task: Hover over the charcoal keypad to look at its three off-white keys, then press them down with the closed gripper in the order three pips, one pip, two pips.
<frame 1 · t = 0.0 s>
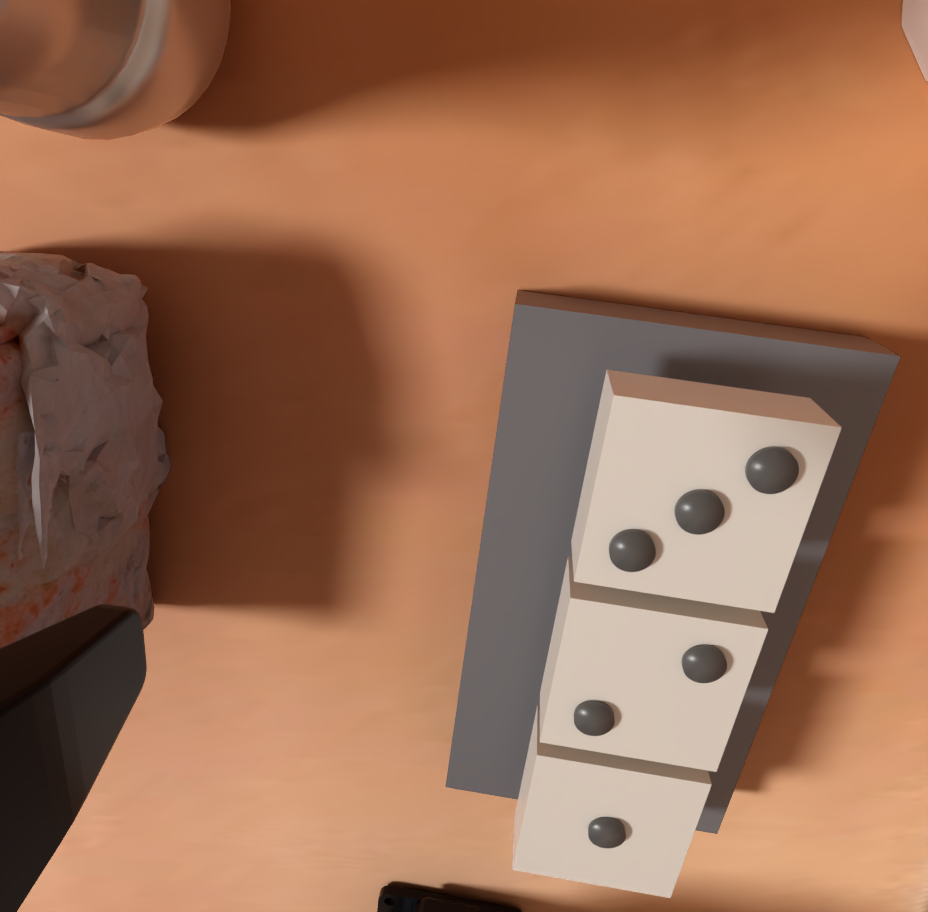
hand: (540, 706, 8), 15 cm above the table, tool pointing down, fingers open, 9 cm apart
key one: (604, 804, 22), point 5 cm above the table, slide at 0.0 cm
keypad board: (625, 575, 24), on the table
key three: (691, 492, 17), point 5 cm above the table, slide at 0.0 cm
key two: (642, 666, 19), point 5 cm above the table, slide at 0.0 cm
plastic bottle: (140, 6, 19), on the table
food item: (87, 436, 24), on the table
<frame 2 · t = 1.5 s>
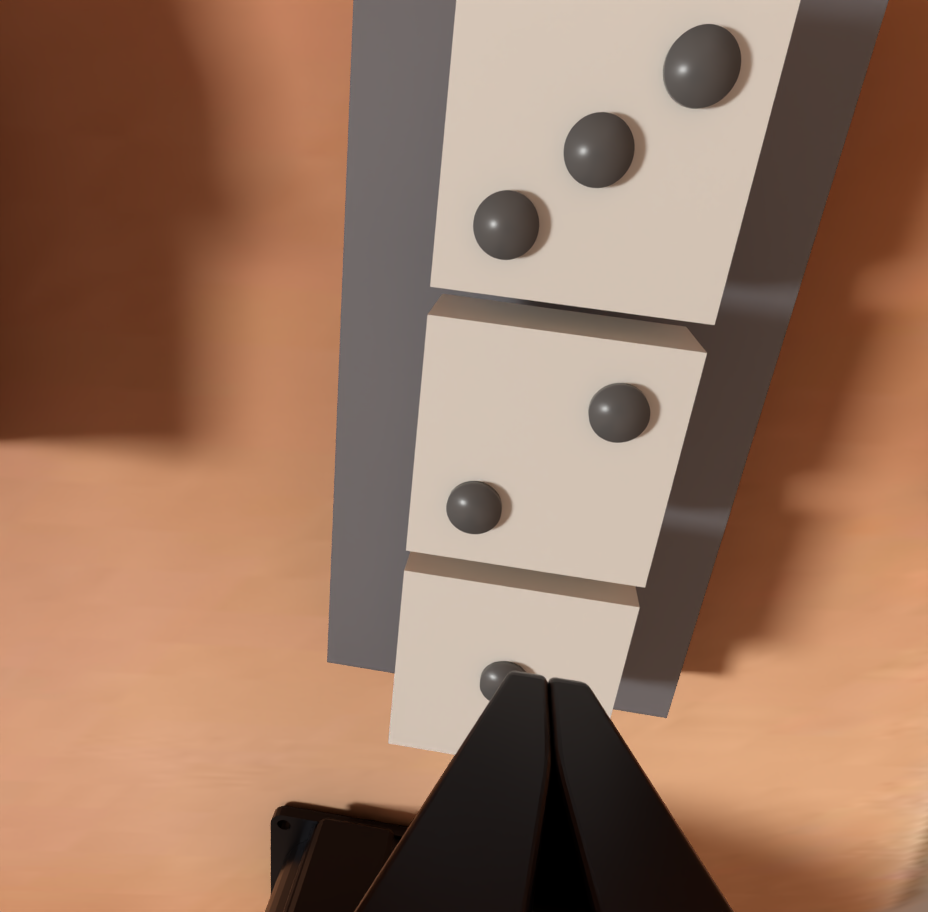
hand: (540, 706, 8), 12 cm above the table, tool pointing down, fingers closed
key one: (506, 654, 16), point 5 cm above the table, slide at 0.0 cm
keypad board: (544, 375, 18), on the table
key three: (594, 150, 12), point 5 cm above the table, slide at 0.0 cm
key two: (543, 442, 14), point 5 cm above the table, slide at 0.0 cm
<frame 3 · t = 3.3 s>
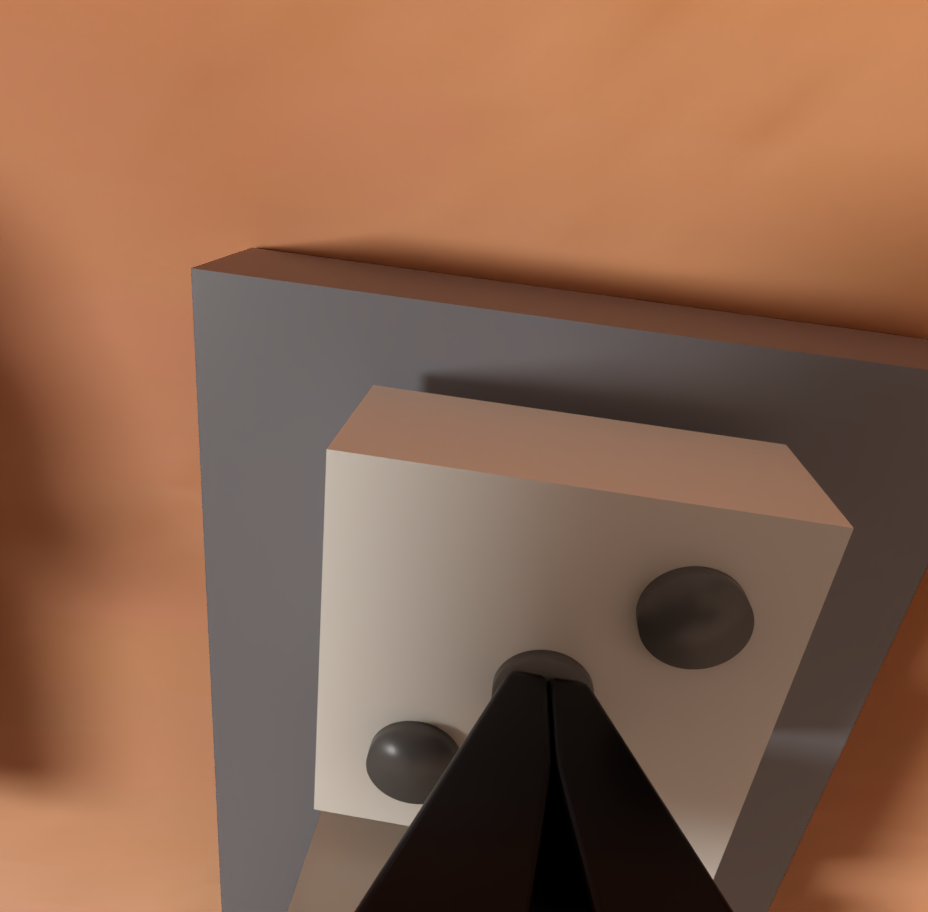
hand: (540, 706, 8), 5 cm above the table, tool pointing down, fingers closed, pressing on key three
keypad board: (499, 740, 14), on the table
key three: (543, 637, 8), point 4 cm above the table, slide at 1.0 cm, touching gripper
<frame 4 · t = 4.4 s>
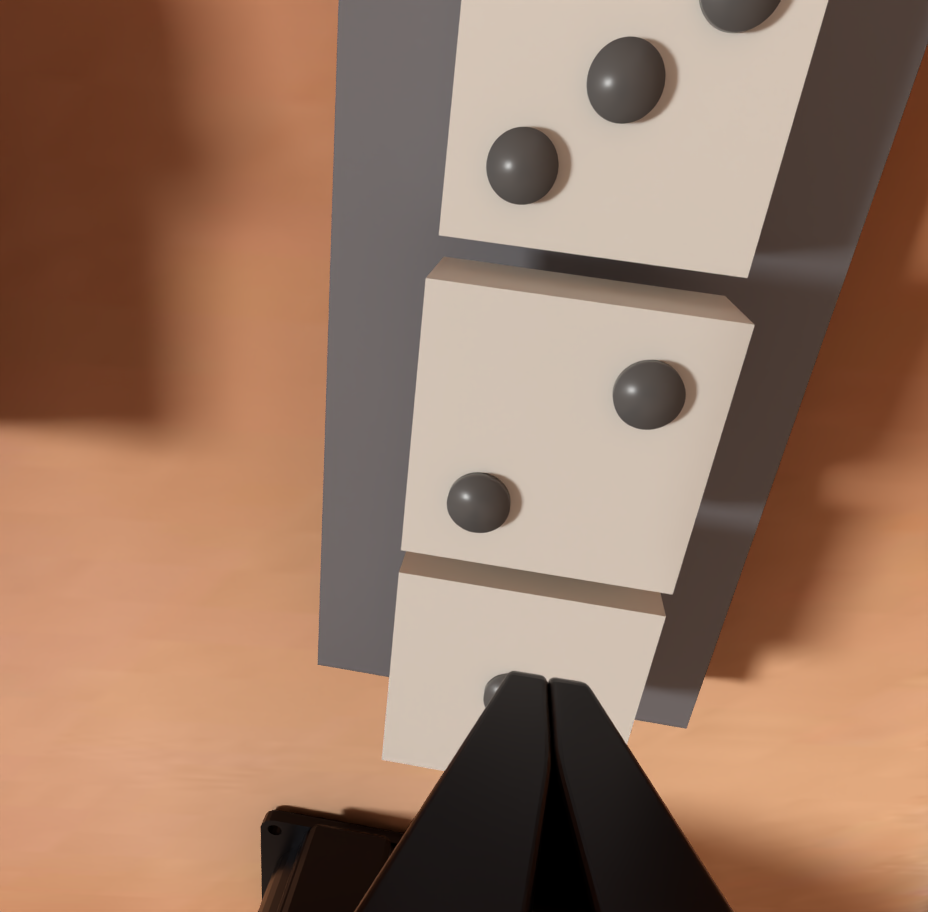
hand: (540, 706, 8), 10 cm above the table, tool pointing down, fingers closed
key one: (513, 663, 15), point 5 cm above the table, slide at 0.0 cm
keypad board: (557, 353, 17), on the table
key three: (619, 85, 11), point 4 cm above the table, slide at 1.0 cm
key two: (558, 428, 12), point 5 cm above the table, slide at 0.0 cm
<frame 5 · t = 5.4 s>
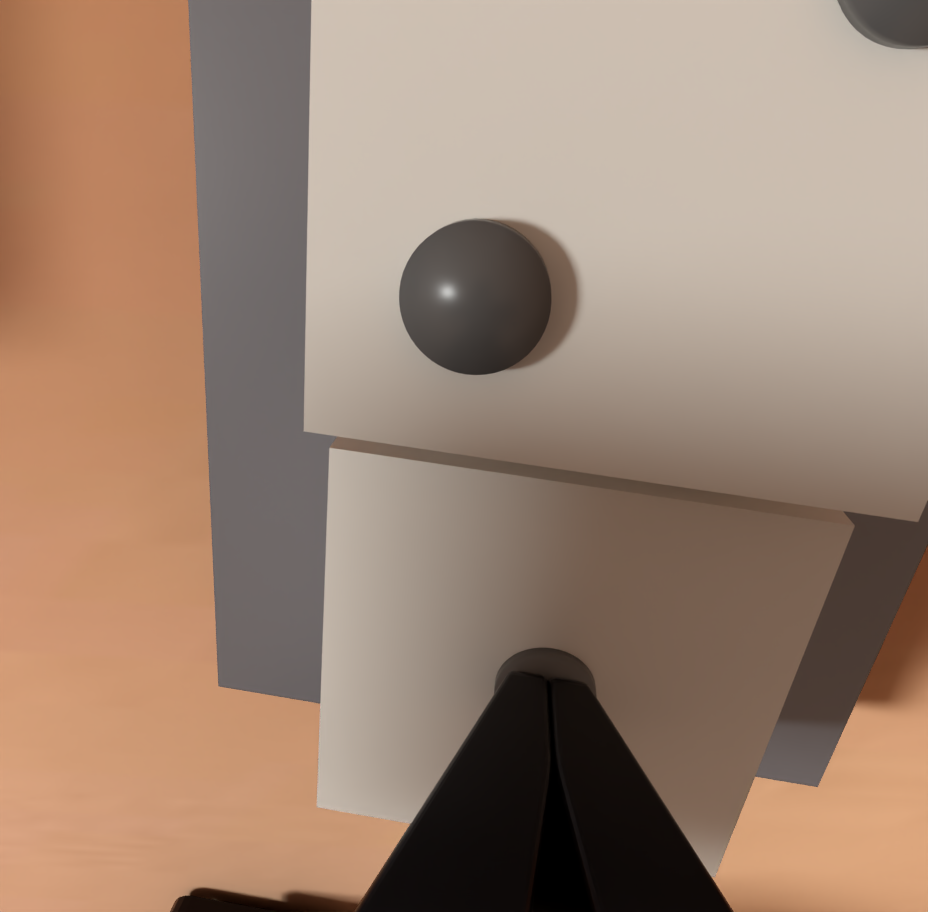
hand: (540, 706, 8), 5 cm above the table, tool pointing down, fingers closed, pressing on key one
key one: (544, 635, 8), point 4 cm above the table, slide at 0.8 cm, touching gripper
keypad board: (608, 144, 10), on the table
key two: (657, 141, 5), point 5 cm above the table, slide at 0.0 cm
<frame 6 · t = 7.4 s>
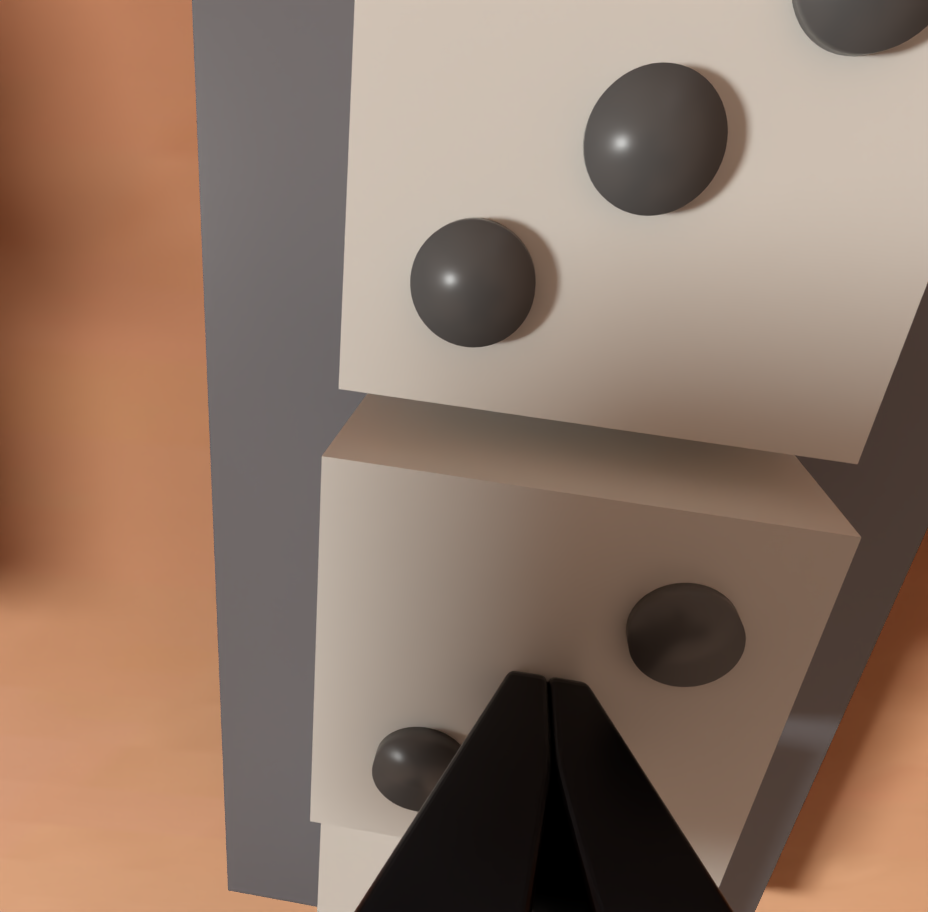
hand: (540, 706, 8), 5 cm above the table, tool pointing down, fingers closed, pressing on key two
key one: (487, 899, 11), point 4 cm above the table, slide at 1.0 cm
keypad board: (543, 492, 12), on the table
key three: (638, 143, 6), point 4 cm above the table, slide at 1.0 cm
key two: (543, 646, 8), point 4 cm above the table, slide at 0.5 cm, touching gripper
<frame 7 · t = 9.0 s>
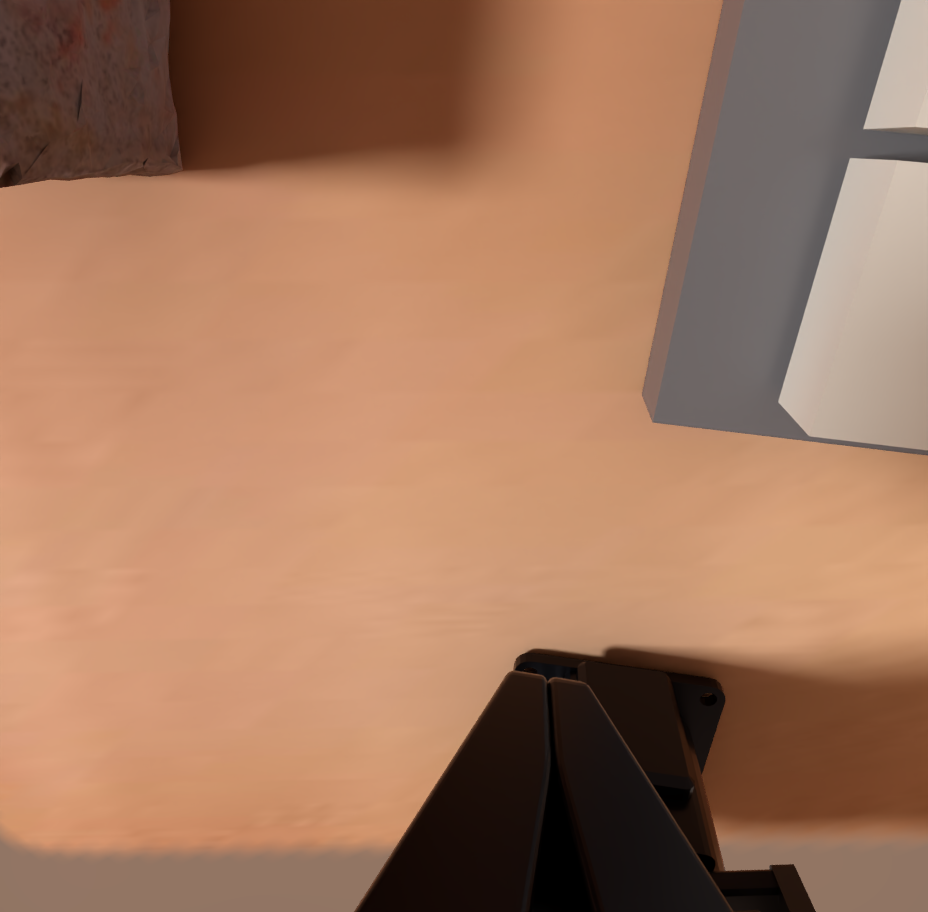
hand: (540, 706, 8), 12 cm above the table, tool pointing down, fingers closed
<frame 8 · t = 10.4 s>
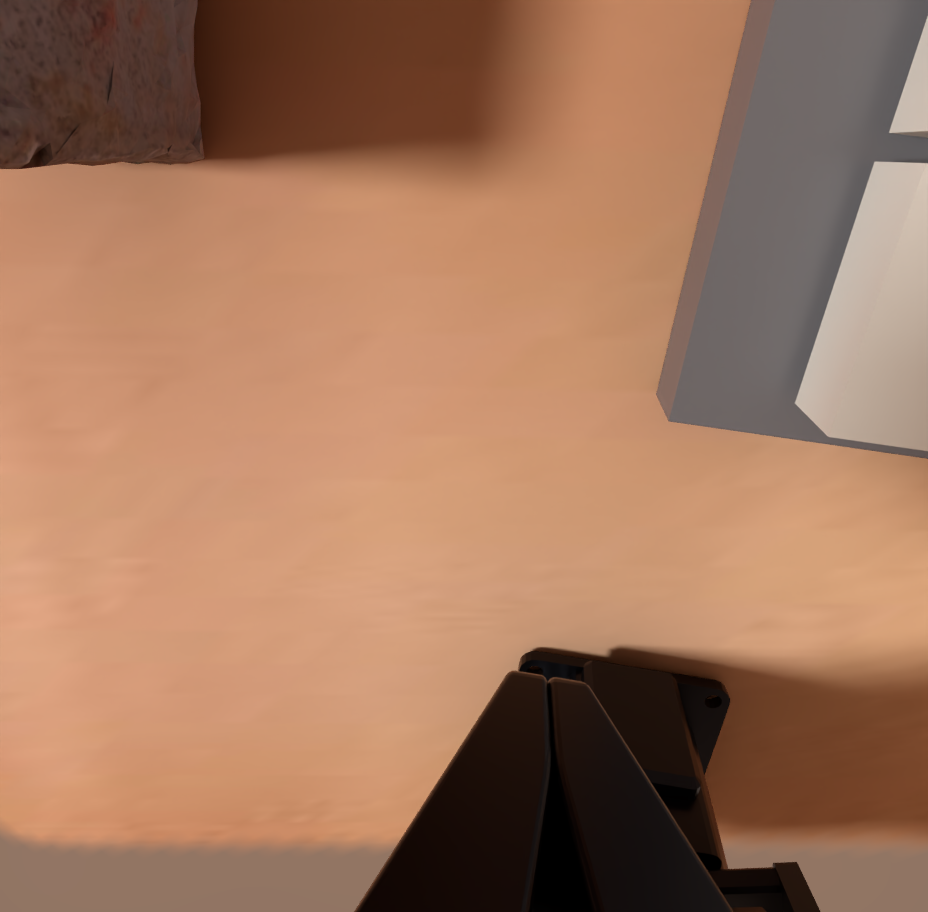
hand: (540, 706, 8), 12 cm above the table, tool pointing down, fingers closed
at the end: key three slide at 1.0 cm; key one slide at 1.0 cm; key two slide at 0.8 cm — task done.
